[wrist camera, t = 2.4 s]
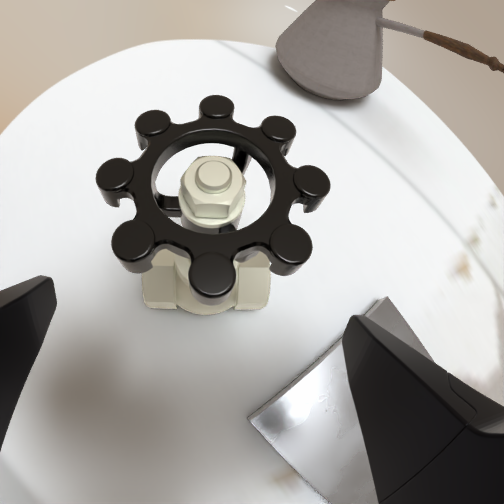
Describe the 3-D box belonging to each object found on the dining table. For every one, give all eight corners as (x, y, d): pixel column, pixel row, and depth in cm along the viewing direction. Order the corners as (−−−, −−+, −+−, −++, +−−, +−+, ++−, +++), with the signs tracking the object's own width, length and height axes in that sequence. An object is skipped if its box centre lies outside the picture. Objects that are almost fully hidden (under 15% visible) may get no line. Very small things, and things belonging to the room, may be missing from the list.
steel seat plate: (352, 521, 14) (359, 527, 13) (246, 417, 16) (250, 421, 15) (454, 408, 18) (464, 408, 17) (378, 300, 21) (387, 296, 19)
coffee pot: (247, 61, 28) (276, -64, 14) (317, 43, 32) (354, -51, 18) (403, 207, 24) (521, 92, 10) (447, 160, 28) (529, 74, 14)
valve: (156, 236, 20) (120, 94, 9) (255, 238, 21) (313, 104, 10) (151, 338, 17) (74, 292, 6) (259, 338, 18) (348, 296, 7)
